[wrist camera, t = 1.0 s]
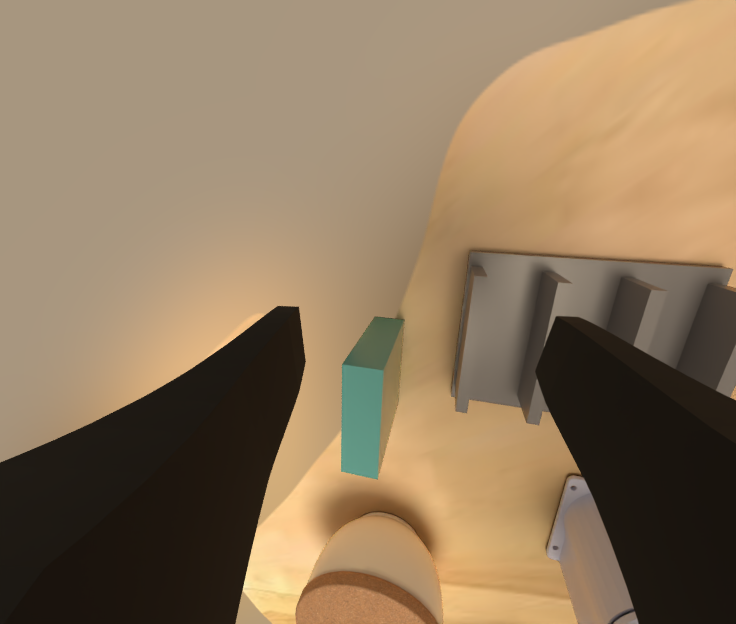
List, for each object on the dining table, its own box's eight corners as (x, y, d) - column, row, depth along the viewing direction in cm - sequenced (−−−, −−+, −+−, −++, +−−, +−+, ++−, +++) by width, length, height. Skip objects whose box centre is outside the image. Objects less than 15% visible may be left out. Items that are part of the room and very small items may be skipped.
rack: (662, 424, 25) (703, 466, 21) (451, 391, 28) (450, 422, 24) (723, 266, 21) (787, 281, 17) (469, 250, 24) (473, 259, 20)
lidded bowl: (472, 541, 33) (481, 695, 22) (403, 597, 37) (385, 745, 27) (366, 470, 33) (328, 589, 23) (312, 534, 38) (260, 656, 28)
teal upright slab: (398, 402, 30) (377, 479, 21) (371, 398, 30) (341, 471, 22) (404, 319, 27) (383, 370, 19) (375, 316, 28) (342, 364, 19)
